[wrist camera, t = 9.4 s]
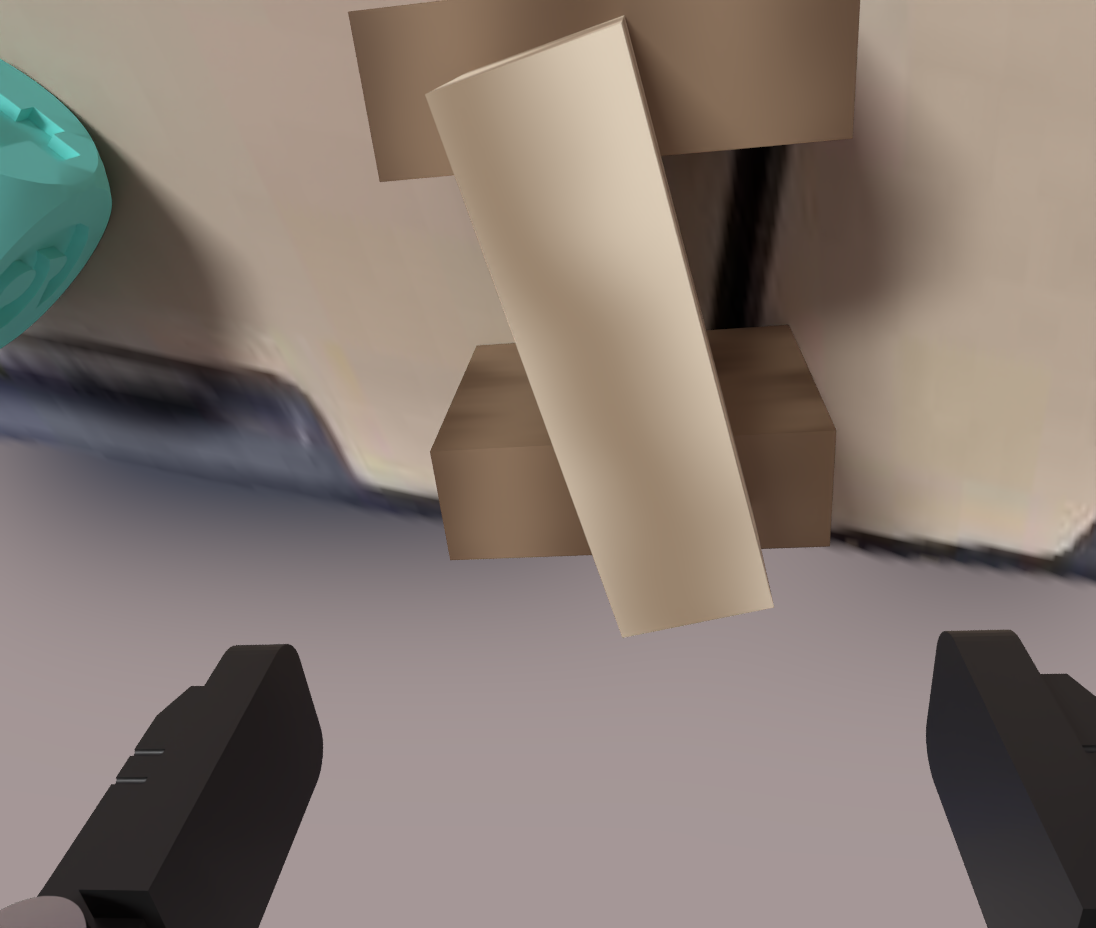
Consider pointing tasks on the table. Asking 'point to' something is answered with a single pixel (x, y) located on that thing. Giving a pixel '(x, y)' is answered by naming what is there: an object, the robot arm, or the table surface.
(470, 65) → the slotted shelf
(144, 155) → the table surface
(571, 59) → the maple beam
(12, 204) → the decorative dice
